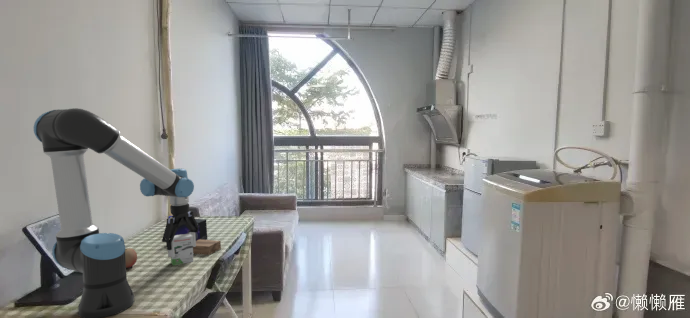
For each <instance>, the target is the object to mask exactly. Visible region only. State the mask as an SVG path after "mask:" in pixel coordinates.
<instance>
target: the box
mask: <svg viewBox="0 0 690 318" xmlns="http://www.w3.org/2000/svg"><path fill="white" fill-rule="evenodd" d="M195 220H196V222H197V224H198V226H199V229H197V230H198V232H196V241H197V240H199V239H202V240H208V227H207V219H206V218H205V219H203V218H195ZM189 232H191V231H190V230H189V229H188V228H187V227H186V225H185V224H183V225H181V226H180V227H179V228H178V229H177V231H176V234H175V235H182V234H189Z"/></svg>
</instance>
